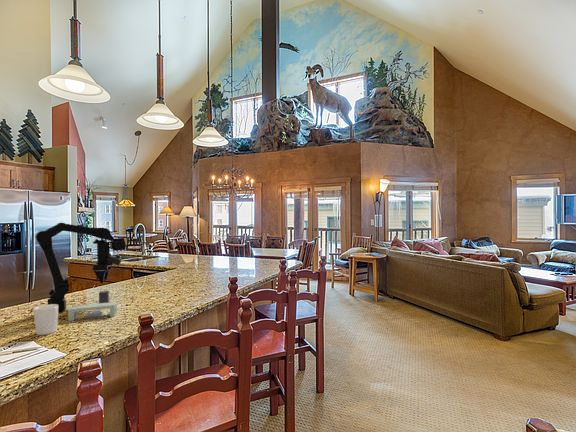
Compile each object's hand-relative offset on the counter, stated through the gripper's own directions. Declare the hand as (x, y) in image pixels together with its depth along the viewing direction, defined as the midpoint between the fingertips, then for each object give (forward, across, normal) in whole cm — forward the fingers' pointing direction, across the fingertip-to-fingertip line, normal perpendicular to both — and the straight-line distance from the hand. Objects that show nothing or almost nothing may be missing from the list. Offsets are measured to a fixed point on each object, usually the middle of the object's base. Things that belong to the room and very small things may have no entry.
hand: (103, 281), depth 172 cm
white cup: (+12, -40, +13) cm, 43 cm away
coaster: (+12, -24, 0) cm, 27 cm away
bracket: (+11, -24, 0) cm, 26 cm away
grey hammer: (+11, -8, 0) cm, 14 cm away
